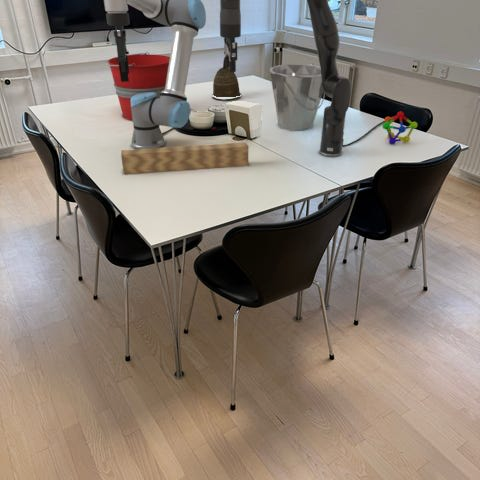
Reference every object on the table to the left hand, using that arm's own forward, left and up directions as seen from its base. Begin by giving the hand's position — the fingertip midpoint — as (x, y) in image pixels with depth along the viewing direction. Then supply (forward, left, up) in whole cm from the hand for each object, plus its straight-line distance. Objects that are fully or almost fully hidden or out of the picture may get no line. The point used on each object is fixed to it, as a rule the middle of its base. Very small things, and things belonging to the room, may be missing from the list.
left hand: (125, 77), depth 162 cm
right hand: (-12, +37, +1) cm, 39 cm away
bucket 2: (-69, +64, -37) cm, 101 cm away
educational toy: (-48, +111, -37) cm, 127 cm away
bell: (-121, +19, -37) cm, 128 cm away
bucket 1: (-78, -20, -37) cm, 88 cm away
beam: (-6, +19, -37) cm, 42 cm away
